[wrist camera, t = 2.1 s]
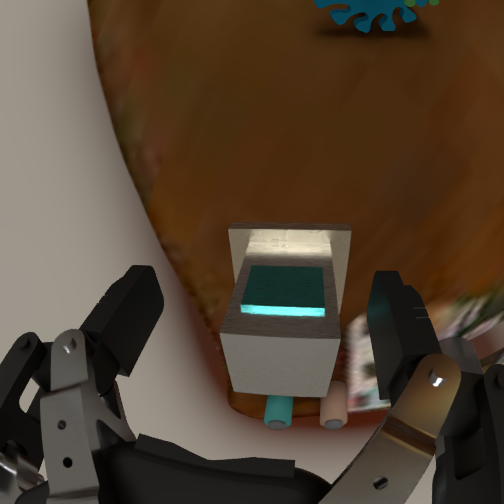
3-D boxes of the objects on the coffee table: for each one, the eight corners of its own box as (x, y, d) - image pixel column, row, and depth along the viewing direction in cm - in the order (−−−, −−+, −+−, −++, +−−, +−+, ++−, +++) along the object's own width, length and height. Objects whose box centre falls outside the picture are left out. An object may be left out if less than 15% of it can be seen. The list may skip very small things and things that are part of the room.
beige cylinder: (348, 380, 41) (349, 421, 35) (343, 392, 44) (344, 431, 37) (322, 380, 42) (321, 421, 36) (319, 392, 44) (318, 431, 38)
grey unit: (349, 223, 27) (374, 323, 16) (338, 305, 33) (345, 404, 22) (231, 222, 29) (187, 314, 18) (241, 302, 35) (215, 396, 24)
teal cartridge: (294, 382, 43) (290, 423, 37) (293, 394, 46) (289, 432, 39) (268, 381, 44) (262, 421, 38) (269, 393, 46) (263, 430, 40)
